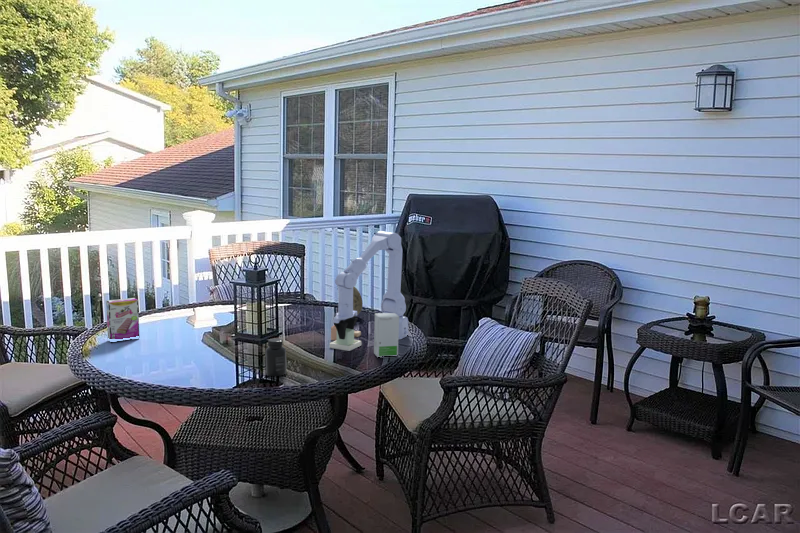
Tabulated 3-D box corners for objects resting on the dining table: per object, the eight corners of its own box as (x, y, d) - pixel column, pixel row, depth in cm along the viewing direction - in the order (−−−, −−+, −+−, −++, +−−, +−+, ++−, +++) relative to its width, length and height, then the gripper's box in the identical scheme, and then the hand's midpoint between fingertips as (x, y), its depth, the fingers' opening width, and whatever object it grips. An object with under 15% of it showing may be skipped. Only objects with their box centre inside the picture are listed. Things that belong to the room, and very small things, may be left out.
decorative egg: (346, 313, 310) (346, 282, 308) (366, 316, 305) (366, 284, 303) (334, 318, 301) (334, 286, 298) (355, 321, 296) (355, 288, 294)
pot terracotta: (347, 338, 268) (347, 325, 267) (342, 341, 263) (342, 328, 262) (335, 337, 269) (335, 324, 269) (331, 340, 265) (331, 327, 264)
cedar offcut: (360, 336, 272) (360, 331, 272) (357, 337, 270) (357, 333, 269) (347, 334, 275) (347, 329, 274) (344, 336, 272) (344, 331, 272)
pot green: (354, 343, 257) (354, 329, 256) (347, 346, 252) (347, 332, 251) (343, 341, 259) (343, 327, 258) (336, 344, 255) (336, 330, 254)
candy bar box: (110, 343, 255) (108, 302, 252) (107, 340, 259) (105, 300, 256) (140, 339, 261) (138, 299, 259) (137, 336, 265) (134, 297, 263)
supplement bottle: (287, 370, 225) (287, 337, 223) (284, 377, 219) (284, 342, 217) (267, 370, 225) (267, 337, 223) (264, 377, 218) (263, 342, 216)
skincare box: (377, 358, 241) (377, 317, 239) (373, 353, 248) (373, 313, 245) (399, 356, 244) (399, 316, 241) (394, 351, 250) (395, 312, 247)
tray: (361, 345, 258) (361, 340, 257) (349, 351, 250) (349, 346, 250) (341, 342, 262) (341, 337, 261) (329, 347, 254) (329, 343, 254)
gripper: (346, 298, 261) (346, 331, 263) (326, 305, 248) (326, 340, 251) (361, 300, 258) (361, 334, 260) (342, 307, 245) (342, 342, 247)
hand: (345, 337), depth 255 cm, fingers closed on pot green, 5 cm apart
